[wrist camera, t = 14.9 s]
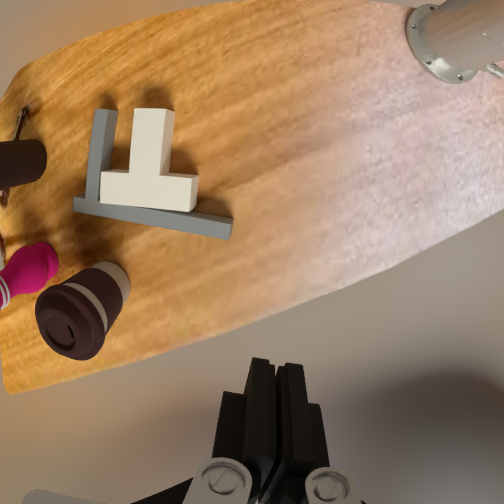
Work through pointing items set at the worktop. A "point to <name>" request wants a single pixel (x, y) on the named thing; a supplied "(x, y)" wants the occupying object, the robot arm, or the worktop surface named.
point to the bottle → (21, 162)
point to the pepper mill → (27, 271)
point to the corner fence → (143, 215)
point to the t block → (150, 168)
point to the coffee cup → (82, 310)
